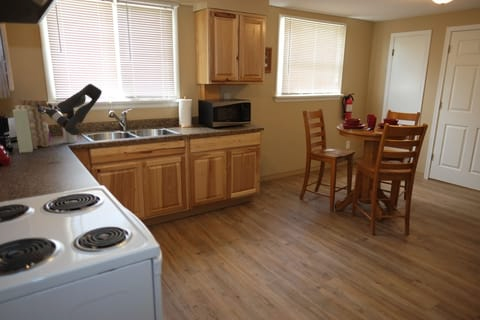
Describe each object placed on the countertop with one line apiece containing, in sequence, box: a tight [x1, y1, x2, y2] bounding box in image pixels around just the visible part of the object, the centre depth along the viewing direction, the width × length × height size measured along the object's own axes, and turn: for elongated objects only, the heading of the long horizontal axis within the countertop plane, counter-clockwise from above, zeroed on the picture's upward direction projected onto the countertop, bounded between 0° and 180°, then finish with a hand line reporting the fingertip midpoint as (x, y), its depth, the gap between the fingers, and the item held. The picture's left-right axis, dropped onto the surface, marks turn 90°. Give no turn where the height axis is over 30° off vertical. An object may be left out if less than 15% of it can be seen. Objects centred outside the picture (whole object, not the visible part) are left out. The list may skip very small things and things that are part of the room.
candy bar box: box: [46, 121, 51, 142], centre depth 271 cm, size 11×5×16 cm, turn 146°
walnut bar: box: [19, 99, 48, 107], centre depth 243 cm, size 25×4×4 cm, turn 65°
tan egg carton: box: [14, 104, 50, 150], centre depth 250 cm, size 16×12×32 cm
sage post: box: [12, 109, 34, 154], centre depth 233 cm, size 8×8×30 cm
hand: (43, 104), depth 239 cm, fingers open, 8 cm apart
